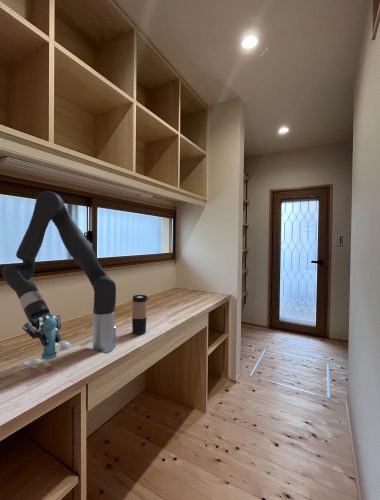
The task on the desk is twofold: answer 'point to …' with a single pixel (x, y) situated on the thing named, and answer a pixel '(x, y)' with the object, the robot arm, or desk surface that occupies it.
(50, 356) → the pawn
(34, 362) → the track board
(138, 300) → the travel mug
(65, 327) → the desk surface
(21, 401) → the desk surface
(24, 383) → the desk surface
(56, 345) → the die tray
